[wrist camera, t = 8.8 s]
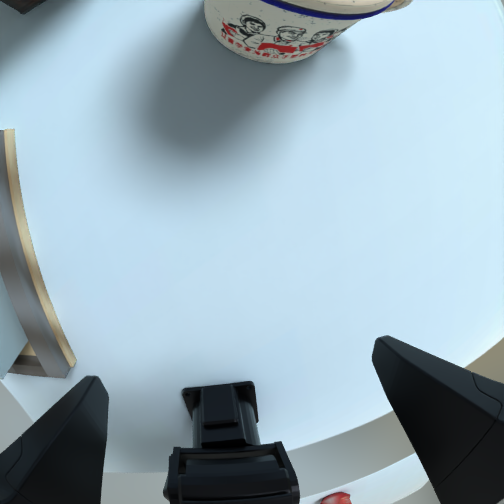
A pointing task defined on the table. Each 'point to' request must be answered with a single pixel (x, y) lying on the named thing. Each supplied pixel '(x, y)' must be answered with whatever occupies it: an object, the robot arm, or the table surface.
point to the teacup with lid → (287, 24)
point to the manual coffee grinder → (23, 4)
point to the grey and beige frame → (27, 279)
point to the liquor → (337, 498)
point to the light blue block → (9, 332)
